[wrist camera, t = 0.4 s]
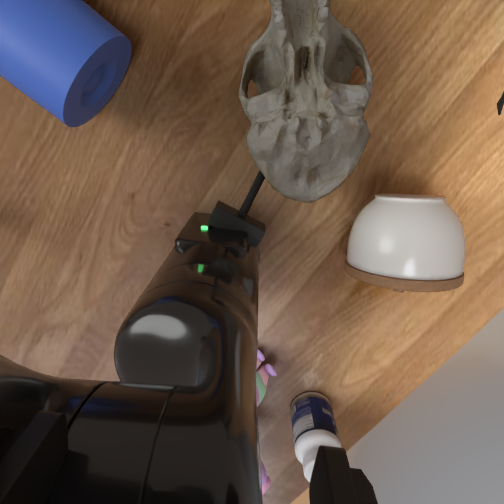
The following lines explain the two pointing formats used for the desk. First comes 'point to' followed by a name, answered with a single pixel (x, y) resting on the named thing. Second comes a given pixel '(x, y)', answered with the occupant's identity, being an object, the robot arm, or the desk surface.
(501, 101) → the sunglasses
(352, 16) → the desk surface
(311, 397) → the pill bottle
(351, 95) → the skull
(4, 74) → the water bottle
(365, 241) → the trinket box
